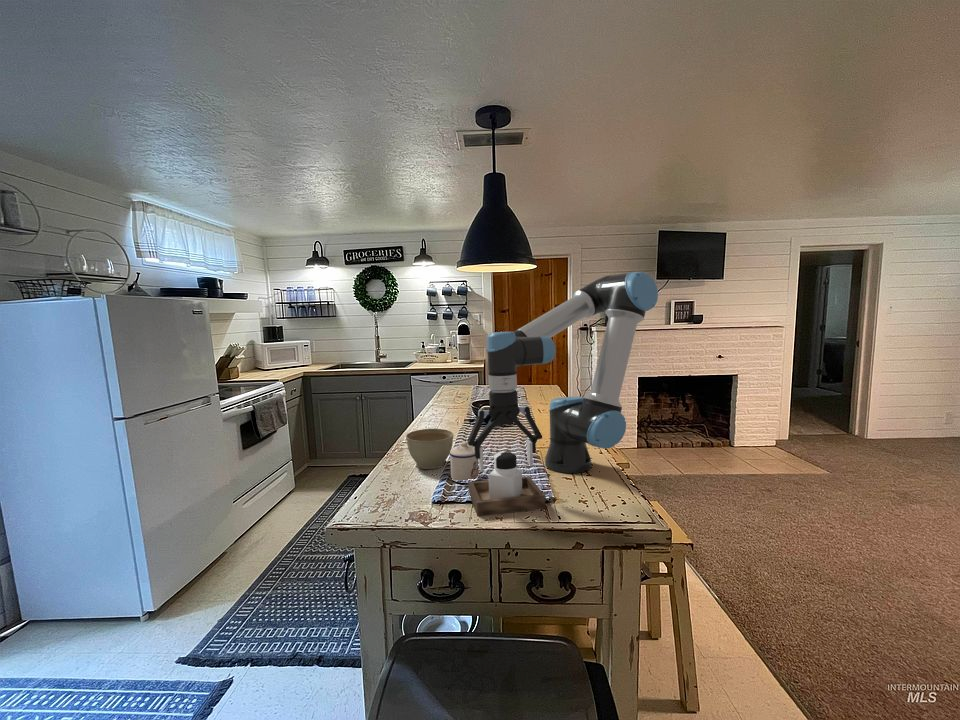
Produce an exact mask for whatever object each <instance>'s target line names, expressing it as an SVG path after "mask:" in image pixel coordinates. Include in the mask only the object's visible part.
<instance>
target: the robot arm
mask: <svg viewBox="0 0 960 720" xmlns="http://www.w3.org/2000/svg"><path fill="white" fill-rule="evenodd" d="M658 299H659V291H658V286H657V284H656V282H655V279H654V278H653V277H652V276H651V275H650V274H649V273H647V272H645V271H630V272H626V273H620V274H612V275H605V276H602V277H600V278H598V279H596V280H594V281H592V282H590V283H589V284H586V285H585V286H583V287H582V288H580V289H579V290H576V291H575V292H574V293H573V295H572V297H571V298H569V299H567V300H566V301H563V302H562V303H561V304H558V305H557V306H555V307H554V308H552V309H550V310H549V311H547V312H545V313H544V314H542V315H540V316H538V317H537V318H535V319H533V320H531V321H530V322H528V323H527V324H525V325H523V326H521V327H519V328H518V329H516V330H514V331H496V332H495V331H494V332H490V333H488V335H487V338H486V339H487V340H486V352H487V353H486V354H487V369H488V371H487V372H488V390H489V392H488V395H489V397H488V398H489V408H488V409H482V408H479V409H478V410H477V418H476V420H475V422H474V425H473V426H472V429H471V431H470V434H469V436H468V439H467V442H466V443H467V445H469V446H471V447H474V449H475V457H476V459H478V470H479V472H485V467H484V449H483V446H482V444H483V443H484V441H485V440H486V439H487V437H488V436H489V434H491V432H492V431H493V430H494V428H496V427H497V425H498V426H500V427H501V426H505V425H509V426H511V425H512V424H513V423H514V424H515V425H516V426H517V428H519V429H520V430H521V431H522V433H523V434H524V435H526V436H527V438H528V439H527V440H526V454H527V456H526V458H527V459H526V461H527V462H526V463H527V464H528V466H529V467H533V466H534V457H533V456H534V454H535V453H536V452H537V445H536V444H537V442H538V440H541V439H543V434H542V432H541V431H540V429H539V427H538V425H537V424H536V422H535V420H534V419H533V417H532V415H531V409H530V406H527V405H526V404H524V405H523V406H519V402H518V401H519V400H518V397H519V396H518V391H517V390H516V389H517V388H518V380H517V379H518V378H517V377H518V376H517V373H518V371H517V370H518V369H517V367H523V366H532V365H543V364H544V365H545V364H548V363H551V362H552V361H554V359H555V357H556V344H555V342H554V340H553V339H552V337H554V336H556V335H558V334H559V333H561V332H562V331H564V330H566V329H567V328H569V327H570V326H573V325H574V324H576V323H578V322H579V321H580V320H582V319H584V318H587V319H589V318H591V317H593V316H595V315H597V314H601V313H604V314H605V315H606V316H607V322H606V326H605V332H604V336H603V339H602V343H601V348H600V351H599V355H598V358H597V364H596V367H595V371H594V376H593V380H592V384H591V387H590V390H589V393H588V394H586V395H585V396H565V397H564V396H563V397H557V398H553V399H552V400H550V402H549V410H548V411H549V441H550V442H549V444H548V448H547V451H546V454H545V457H544V463H545V464H544V466H545V467H546V468H547V469H549V470H551V471H554V472H558V473H563V474H577V473H584V472H586V471H589V470H591V468H592V459H591V455H590V453H589V449H588V447H587V444H588V445H590V446H592V447H595V448H600V449H611V448H614V447H615V446H616V445H617V444H619V443H620V442H621V441H622V440H623V437H624V435H625V434H626V431H627V421H626V418H625V416H624V414H622V410H623V406H622V404H621V402H620V400H619V399H620V395H621V391H622V387H623V383H624V378H625V375H626V371H627V367H628V363H629V359H630V355H631V350H632V348H633V347H632V346H633V342H634V338H635V334H636V331H637V326H638V324H639V323H641V322H643V321H644V320H645V315H646V313H647V312H648V311H649V310H650V311H651V310H652V309H653V308H655V306H656V304H657V303H658ZM520 412H521V414H522V415H523V416H524V417H525V419H526V421H527V423H528V424H529V426H530V429H531V430H532V431H533V434H532V433H531V432H530V431H529V430H528V429H527V428H526V426H525V425H523V423H522V422H521V421H520V420H519V419H518V416H519V414H520ZM488 416H490V419H489V420H488V422H487V424H486V426H484V428H483V429H482V430H481V432H480V429H481V428H482V425H483V423H484V419H486V418H487V417H488ZM478 434H479V435H478Z"/></svg>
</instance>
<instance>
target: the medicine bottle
mask: <svg viewBox="0 0 960 720" xmlns="http://www.w3.org/2000/svg"><path fill="white" fill-rule="evenodd" d="M493 468H494V469H493V470H492V471H491V472H490V473H489V474H488V480H489V499H500V498H510V497H519V496H520V495H521V494H522V477H523V469H522V468H517V455H516V454H515V453H514V452H510V451H500V452H498V453H496V454H494V455H493Z"/></svg>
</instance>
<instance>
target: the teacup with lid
mask: <svg viewBox="0 0 960 720" xmlns="http://www.w3.org/2000/svg"><path fill="white" fill-rule="evenodd" d="M449 457H450V479H451V478H452V479H454V480H468V479H473V478H475V477H477V476H478V474H479V459H476V457H475V449H474V446H469V444H468V442H466V441H462V442H460V444H459V445H457V446H456V447H453V448H452V449H451V450H450V453H449Z"/></svg>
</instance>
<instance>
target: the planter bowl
mask: <svg viewBox="0 0 960 720" xmlns="http://www.w3.org/2000/svg"><path fill="white" fill-rule="evenodd" d="M454 435H455V434H454V432H453V431H452V430H448V429H445V428H444V429H443V428H422V429H416V430H412V431H410V432H408V433H406V435H405V439H406V445H407V450H408V452H409V455H410V457H411V458H412V460H413V461H414V462H415V464H416V467H417V468H419V469H423V470H435V469H439V468H441V467H443V466H445V463H446V460H447V459H448V457H450V454H449V453H450V450H451V449H453V448H452V447H453V444H454Z"/></svg>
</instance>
